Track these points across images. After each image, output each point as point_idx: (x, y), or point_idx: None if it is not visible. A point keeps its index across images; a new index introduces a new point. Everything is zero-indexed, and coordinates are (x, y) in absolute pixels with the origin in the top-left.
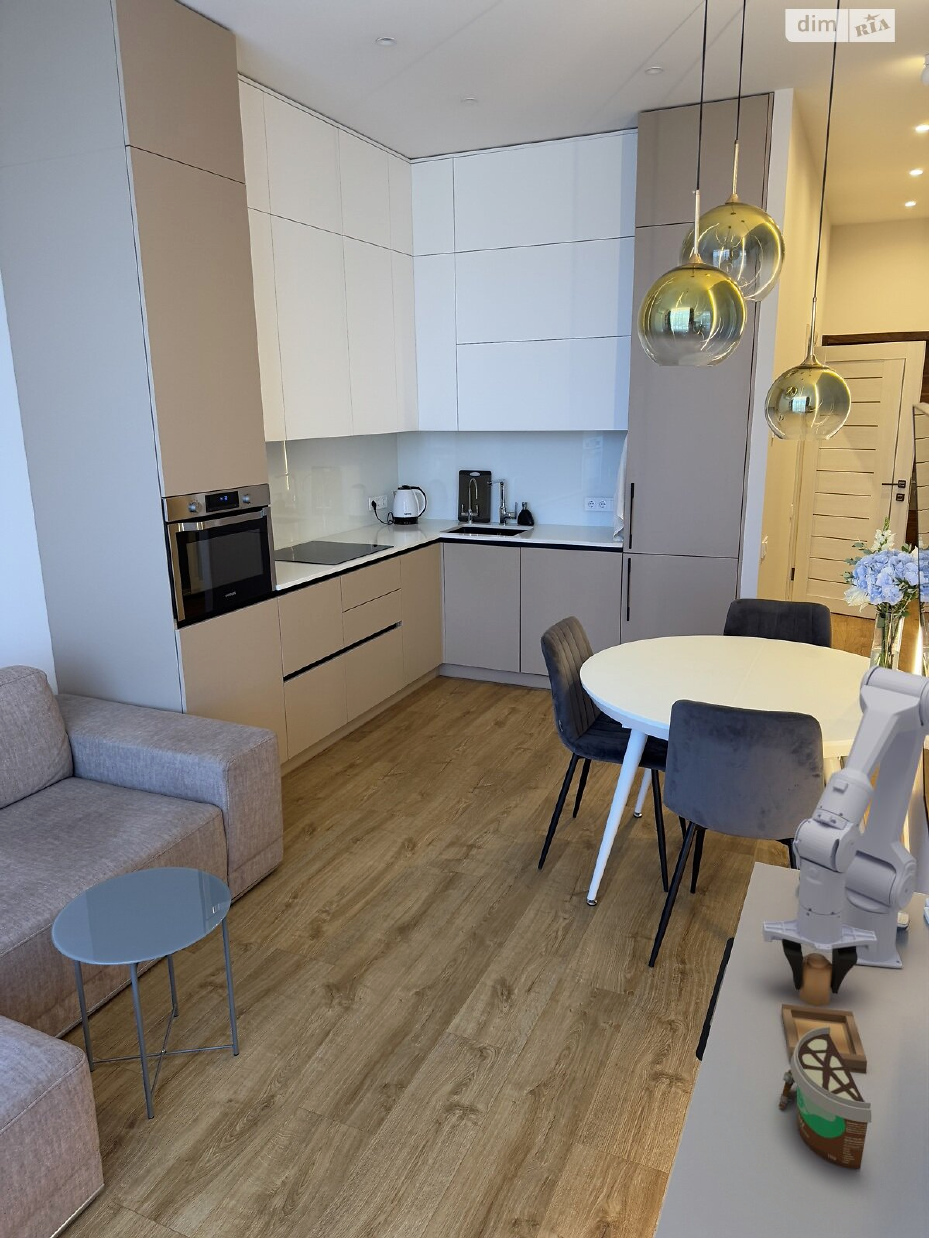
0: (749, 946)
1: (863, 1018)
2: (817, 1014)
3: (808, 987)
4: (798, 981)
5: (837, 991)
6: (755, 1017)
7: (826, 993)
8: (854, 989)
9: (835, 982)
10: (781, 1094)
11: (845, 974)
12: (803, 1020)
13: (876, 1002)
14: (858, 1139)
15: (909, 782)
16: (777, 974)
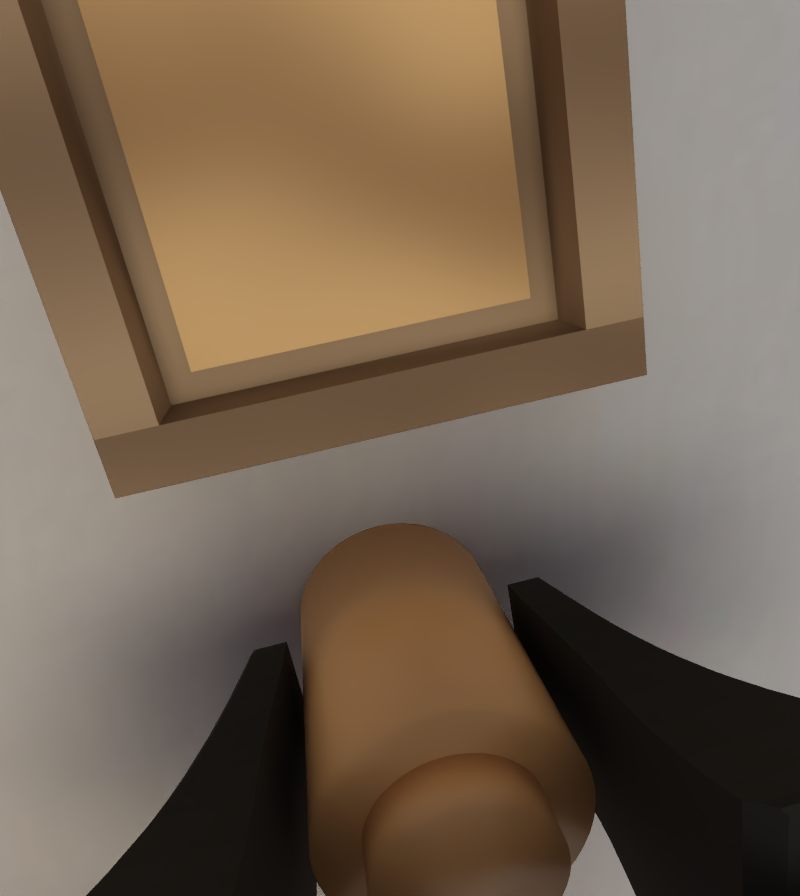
0: None
1: (64, 534)
2: (379, 371)
3: (469, 598)
4: (559, 610)
5: (250, 661)
6: (763, 261)
7: (328, 611)
8: (160, 769)
9: (266, 704)
10: None
11: (166, 803)
12: (466, 318)
13: (7, 716)
14: None
15: None
16: None
